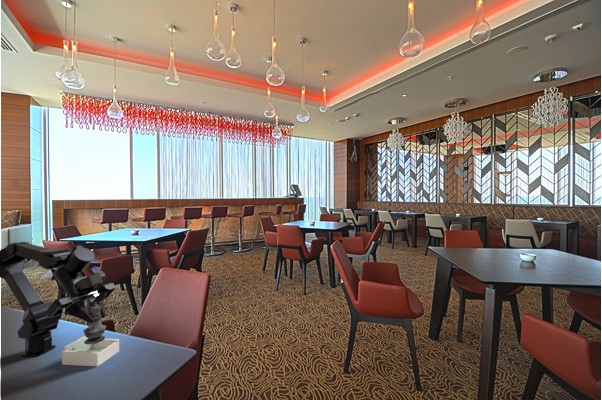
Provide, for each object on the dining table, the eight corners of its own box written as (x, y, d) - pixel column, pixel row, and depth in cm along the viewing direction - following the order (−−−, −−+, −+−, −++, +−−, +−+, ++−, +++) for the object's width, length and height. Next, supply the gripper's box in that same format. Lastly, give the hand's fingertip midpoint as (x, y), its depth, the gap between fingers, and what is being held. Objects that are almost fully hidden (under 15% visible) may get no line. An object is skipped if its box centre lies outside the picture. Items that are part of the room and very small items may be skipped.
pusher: (72, 358, 90) (72, 347, 90) (89, 348, 96) (89, 337, 96) (75, 359, 90) (75, 347, 90) (92, 348, 96) (92, 337, 96)
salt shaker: (97, 345, 87) (97, 305, 87) (78, 344, 87) (78, 305, 87) (110, 336, 93) (111, 298, 93) (92, 335, 93) (93, 298, 93)
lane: (62, 364, 89) (61, 348, 89) (86, 349, 98) (86, 334, 98) (97, 366, 87) (97, 349, 88) (119, 351, 96) (119, 336, 96)
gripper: (54, 272, 82) (82, 315, 79) (112, 259, 100) (137, 293, 97) (34, 296, 84) (61, 339, 81) (94, 279, 102) (119, 314, 99)
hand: (98, 319), depth 90 cm, fingers closed on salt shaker, 4 cm apart
